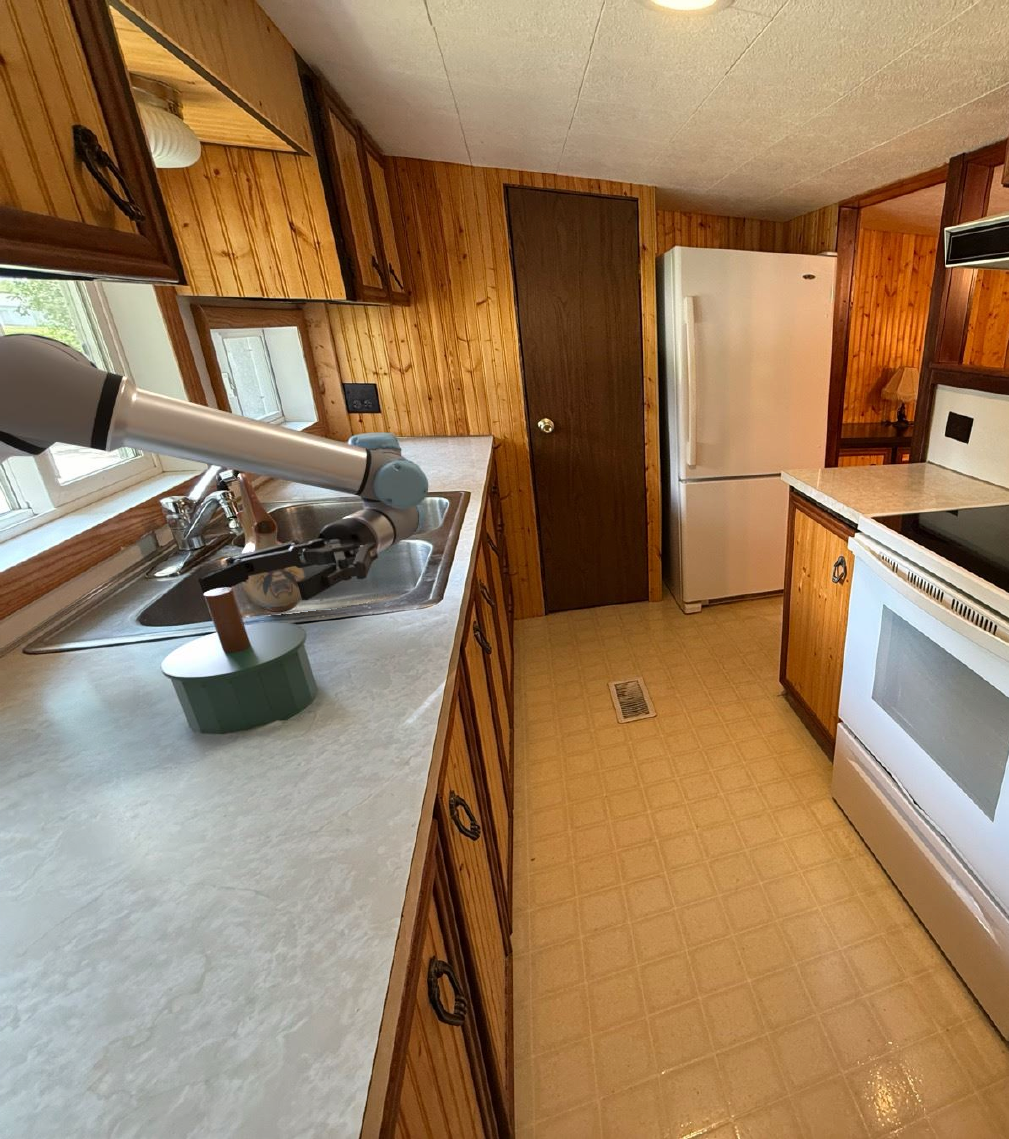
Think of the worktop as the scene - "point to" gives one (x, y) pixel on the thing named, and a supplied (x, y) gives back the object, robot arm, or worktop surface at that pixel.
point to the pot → (249, 696)
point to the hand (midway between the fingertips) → (252, 589)
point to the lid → (232, 644)
